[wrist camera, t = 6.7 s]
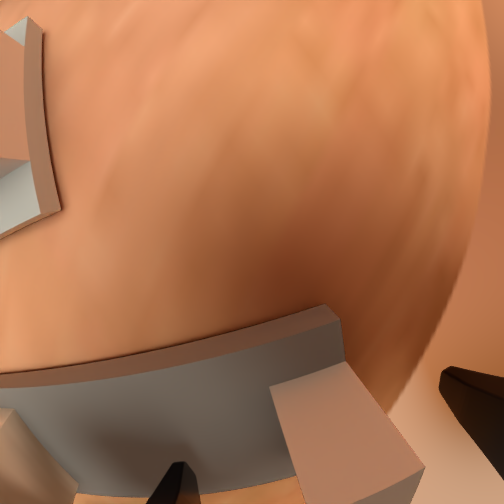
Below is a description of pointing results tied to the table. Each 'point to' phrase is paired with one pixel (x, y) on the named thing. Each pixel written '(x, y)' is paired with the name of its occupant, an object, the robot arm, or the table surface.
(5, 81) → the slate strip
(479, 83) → the table surface
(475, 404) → the robot arm
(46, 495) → the cream block
